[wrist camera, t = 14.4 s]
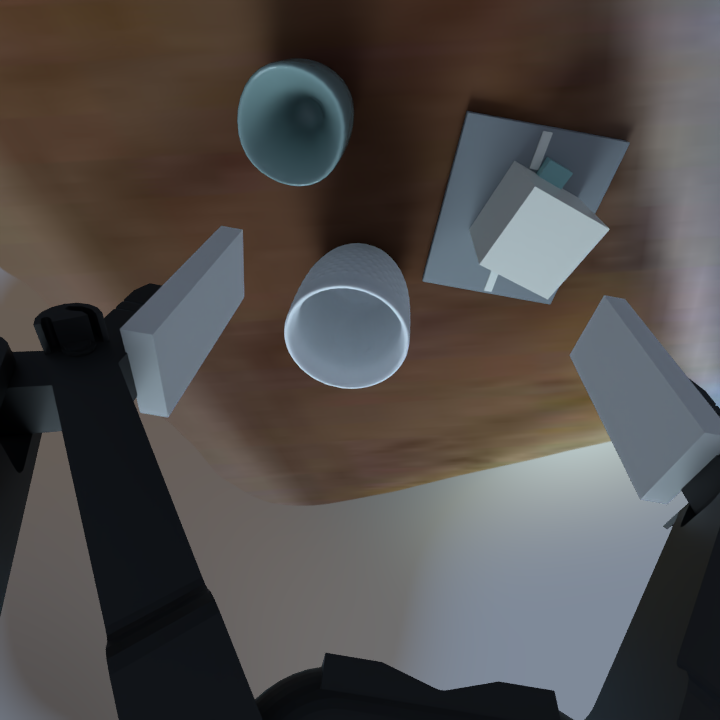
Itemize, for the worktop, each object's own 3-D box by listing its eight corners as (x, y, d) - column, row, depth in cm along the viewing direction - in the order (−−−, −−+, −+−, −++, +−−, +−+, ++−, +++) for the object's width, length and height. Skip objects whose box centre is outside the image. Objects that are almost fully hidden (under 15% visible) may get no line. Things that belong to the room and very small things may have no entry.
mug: (373, 352, 53) (365, 429, 43) (290, 321, 52) (260, 393, 41) (428, 249, 44) (433, 314, 34) (329, 207, 43) (303, 263, 32)
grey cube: (460, 242, 43) (468, 278, 36) (525, 143, 37) (549, 167, 30) (518, 272, 44) (536, 312, 38) (589, 182, 38) (625, 211, 32)
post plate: (466, 110, 37) (476, 124, 31) (625, 140, 37) (663, 159, 31) (422, 277, 46) (424, 310, 41) (547, 299, 47) (566, 335, 41)
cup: (344, 169, 40) (328, 202, 33) (265, 139, 39) (228, 166, 32) (371, 76, 36) (360, 88, 28) (282, 39, 35) (244, 42, 27)
